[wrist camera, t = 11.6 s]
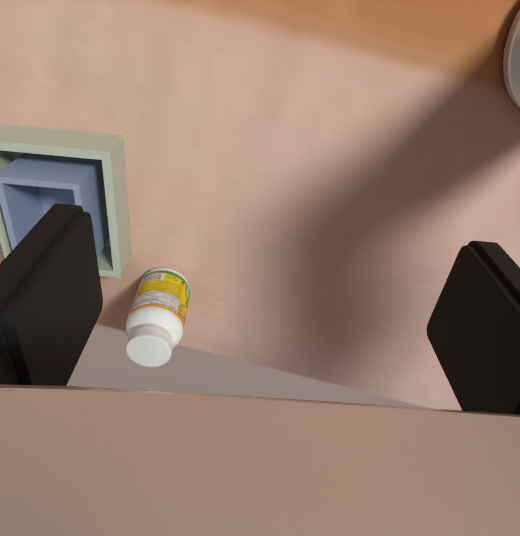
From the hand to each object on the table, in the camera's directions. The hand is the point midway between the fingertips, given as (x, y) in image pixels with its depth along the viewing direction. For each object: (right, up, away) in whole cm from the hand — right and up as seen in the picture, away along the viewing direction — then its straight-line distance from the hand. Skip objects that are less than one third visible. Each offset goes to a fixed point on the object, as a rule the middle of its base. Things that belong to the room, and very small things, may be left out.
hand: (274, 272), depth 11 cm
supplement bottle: (-10, -2, +35) cm, 36 cm away
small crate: (-18, +7, +28) cm, 34 cm away
